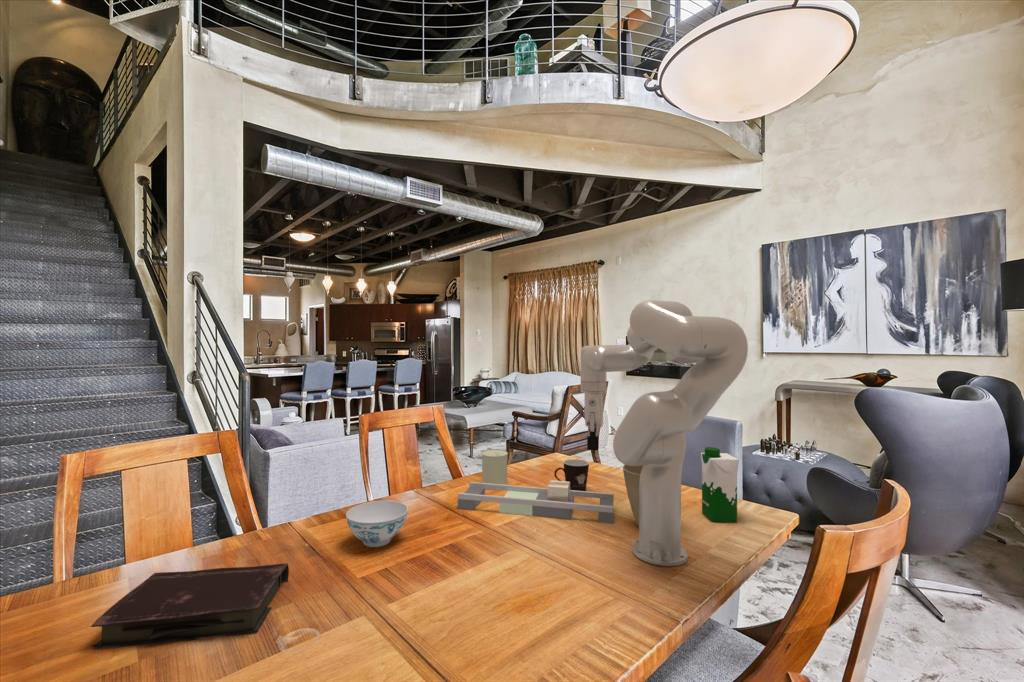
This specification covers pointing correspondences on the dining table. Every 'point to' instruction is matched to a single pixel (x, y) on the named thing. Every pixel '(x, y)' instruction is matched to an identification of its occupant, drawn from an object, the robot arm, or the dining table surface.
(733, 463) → the milk carton
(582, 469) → the coffee mug
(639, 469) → the plant pot
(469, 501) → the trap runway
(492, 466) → the can
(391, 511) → the chinaware
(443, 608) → the dining table surface
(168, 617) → the diary
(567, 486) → the block
